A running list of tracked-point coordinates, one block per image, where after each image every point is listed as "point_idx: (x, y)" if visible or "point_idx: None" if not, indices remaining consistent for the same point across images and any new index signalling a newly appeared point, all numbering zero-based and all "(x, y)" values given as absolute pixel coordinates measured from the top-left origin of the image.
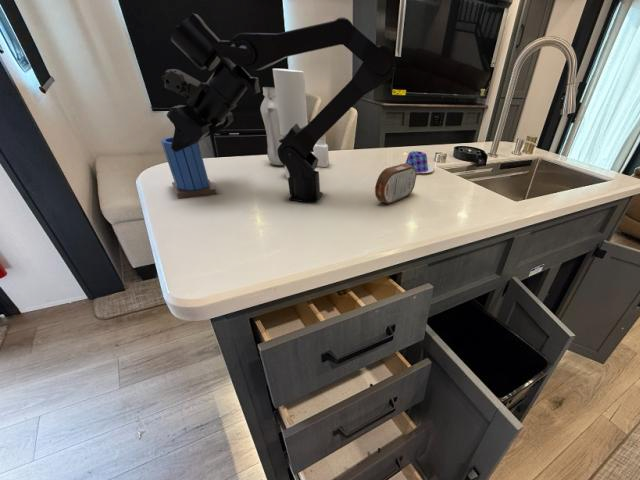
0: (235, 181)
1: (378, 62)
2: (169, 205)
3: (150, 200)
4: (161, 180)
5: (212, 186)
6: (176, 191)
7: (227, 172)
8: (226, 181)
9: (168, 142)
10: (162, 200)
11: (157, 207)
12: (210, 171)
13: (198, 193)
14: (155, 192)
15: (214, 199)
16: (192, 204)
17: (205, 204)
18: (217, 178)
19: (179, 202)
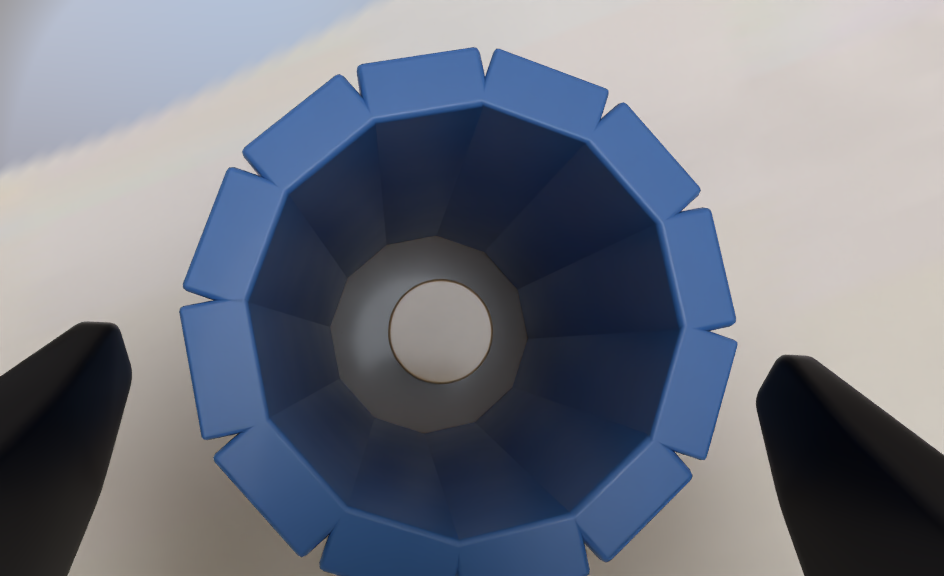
0: (703, 573)
1: None
2: (88, 271)
3: (183, 106)
4: (623, 17)
5: None
6: None
7: (915, 431)
8: (689, 499)
9: (244, 224)
10: (190, 185)
11: (41, 206)
12: (908, 289)
13: None
14: (355, 75)
15: (248, 552)
16: (121, 426)
17: (128, 523)
18: (749, 403)
19: (157, 317)
